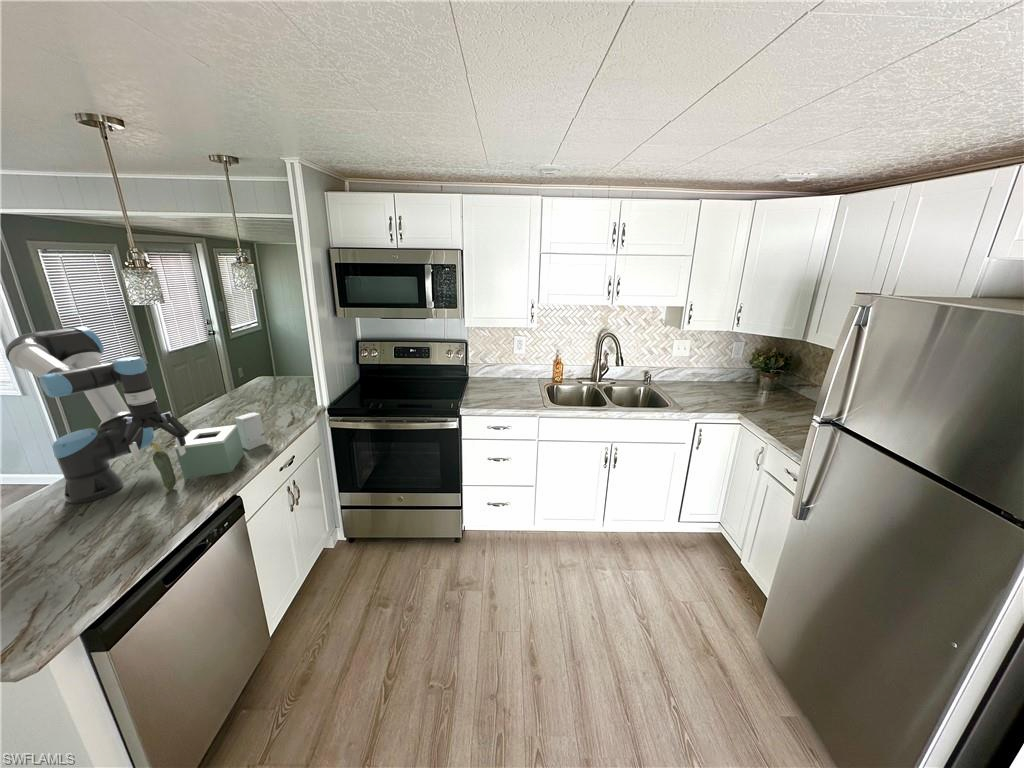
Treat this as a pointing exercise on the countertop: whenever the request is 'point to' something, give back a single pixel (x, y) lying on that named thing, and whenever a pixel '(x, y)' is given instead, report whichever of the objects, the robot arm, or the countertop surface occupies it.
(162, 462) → the vegetable
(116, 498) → the countertop surface
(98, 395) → the robot arm
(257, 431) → the skincare box
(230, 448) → the box
